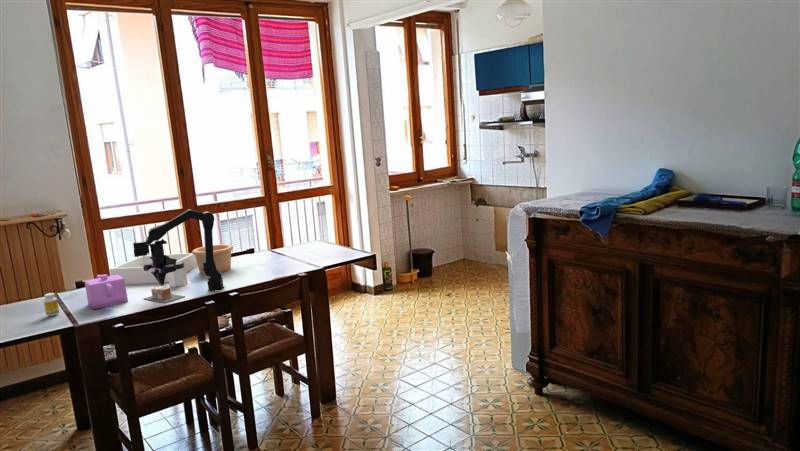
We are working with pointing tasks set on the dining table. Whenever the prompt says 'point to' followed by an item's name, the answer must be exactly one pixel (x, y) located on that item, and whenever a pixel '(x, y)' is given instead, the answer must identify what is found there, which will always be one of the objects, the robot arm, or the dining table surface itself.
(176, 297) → the mat
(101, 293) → the pink knobbed box
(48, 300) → the supplement bottle
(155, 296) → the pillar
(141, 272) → the tub
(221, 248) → the pottery
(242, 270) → the dining table surface
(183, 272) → the white upright block
